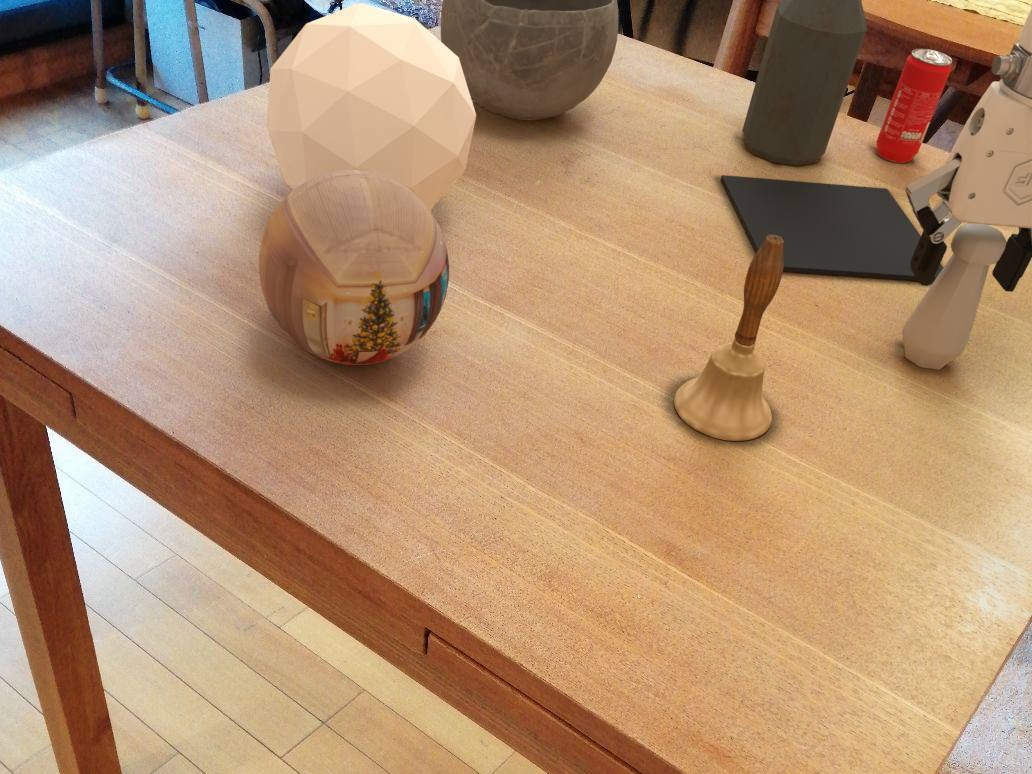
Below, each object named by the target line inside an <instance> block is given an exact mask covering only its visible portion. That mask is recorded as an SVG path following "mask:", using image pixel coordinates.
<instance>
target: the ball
mask: <svg viewBox="0 0 1032 774" xmlns="http://www.w3.org/2000/svg"><path fill="white" fill-rule="evenodd" d="M269 70H270V71H269V87H268V98H267V99H268V102H267V103H268V104H267V116H266V128H267V131H268V134H269V137H270V140H271V144H272V147H273V150H274V153H275V156H276V160H277V162H278V165H279V169H280V172H281V174H282V177H283V181H284V183H285V184H286V185H287V186H288V187H289V188H290V189H292V191H293V190H294V189H295V188H297V187H298V186H300V185H301V184H303V183H305V182H306V181H308V180H310V179H312V178H314V177H317V176H320V175H322V174H325V173H329V172H333V171H340V170H362V171H368V172H373V173H377V174H380V175H383V176H386V177H389V178H391V179H393V180H395V181H396V182H398V183H400V184H402V185H403V186H405V187H406V188H408V189H409V190H410V191H411V192H413V193H414V194H415V195H416V196H417V197H419V199H420V200H421V201H422V202H423V203H424V204H425V205H426V207H427V208H428V209H429V210H430V211H431V210H432V209H433V208H434V207H435V206H436V204H437V203H439V201H440V200H441V199H442V197H443V196H444V195H445V194H446V193H447V192H448V190H450V189H451V187H452V186H453V185H454V184H455V183H456V182H457V180H458V179H459V178H460V177H461V176H462V174H463V173H464V172H465V171H466V168H467V165H468V159H469V153H470V148H471V144H472V139H473V134H474V128H475V123H476V119H477V113H476V110H475V107H474V103H473V100H472V99H471V97H470V93H469V90H468V87H467V83H466V80H465V77H464V74H463V70H462V67H461V64H460V60H459V57H458V56H456V55H455V54H454V53H453V52H452V51H451V50H450V49H449V48H447V47H446V46H445V45H444V44H443V43H442V42H441V40H439V38H437V37H436V36H435V35H434V34H433V33H431V31H429V30H428V29H427V27H425V26H424V25H423V24H422V23H421V22H420V21H418V20H417V19H416V18H415V17H411V16H408V15H404V14H401V13H397V12H394V11H390V10H387V9H383V8H380V7H377V6H373V5H370V4H366V3H362V2H357V3H355V4H352V5H350V6H347V7H345V8H342V9H340V10H337V11H335V12H332V13H330V14H327V15H324V16H322V17H319V18H318V19H314V20H312V21H310V22H306V23H305V24H304V25H303V27H302V28H301V30H300V31H298V33H297V34H296V36H295V37H294V38H293V40H292V41H291V42H290V43H289V45H288V46H287V47H286V48H285V49H284V51H283V52H282V53H281V55H280V56H279V57H278V59H277V60H276V61H275V62H274V64H273V65H272V66H271V67H270V69H269Z"/></svg>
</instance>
